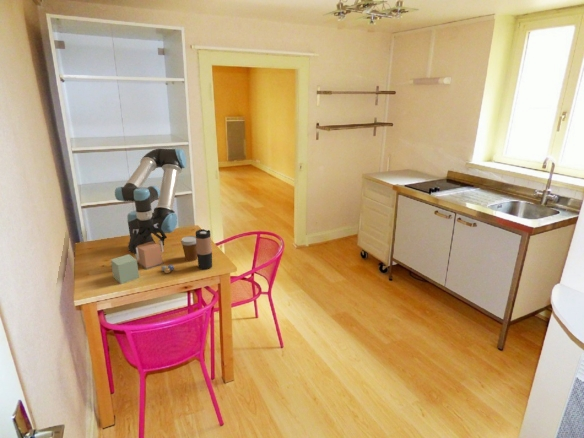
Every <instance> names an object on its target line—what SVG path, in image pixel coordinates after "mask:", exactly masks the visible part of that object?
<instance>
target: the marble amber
mask: <svg viewBox="0 0 584 438" xmlns="http://www.w3.org/2000/svg"><path fill="white" fill-rule="evenodd" d="M163 272H164V273H165V274H170V273H171V271H170V268H168V267H167V268H165V269H164V271H163Z"/></svg>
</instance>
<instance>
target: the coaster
mask: <svg viewBox="0 0 584 438" xmlns="http://www.w3.org/2000/svg"><path fill="white" fill-rule="evenodd" d="M137 265H139V266H141V268H143V269H144V270H149V269H152V268H156V267H157V266H160V265H161V266H162V265H164V262H163V261H162V263H161V264H158V265H155V266H152V267H149V268H145V267H144V266H142V265H141V264H140V263H139V262H137Z"/></svg>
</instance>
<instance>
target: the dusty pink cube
mask: <svg viewBox="0 0 584 438" xmlns="http://www.w3.org/2000/svg"><path fill="white" fill-rule="evenodd" d="M137 248H138V254H139V260H137V262H138V263H140V264H141V265H142V266H144V267H145V268H149V267H152V266H155V265H158V264H161V263H162V262H163V257H162V252H161V247H160V245H159V243H156V241H155V242H153V241H152V242H148V243H145V244H141V245H138V246H137ZM161 265H162V264H161ZM142 266H141V267H142ZM158 266H159V265H158ZM155 267H156V266H155ZM152 268H153V267H152ZM149 269H150V268H149Z"/></svg>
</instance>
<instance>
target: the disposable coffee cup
mask: <svg viewBox="0 0 584 438" xmlns="http://www.w3.org/2000/svg"><path fill="white" fill-rule="evenodd" d="M180 243H181V245H182V249H183V253H184V259H185V261H187V262H194V261H196V260H198V257H197V246H196V235H188V236H184V237H182V238H181V241H180Z"/></svg>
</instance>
